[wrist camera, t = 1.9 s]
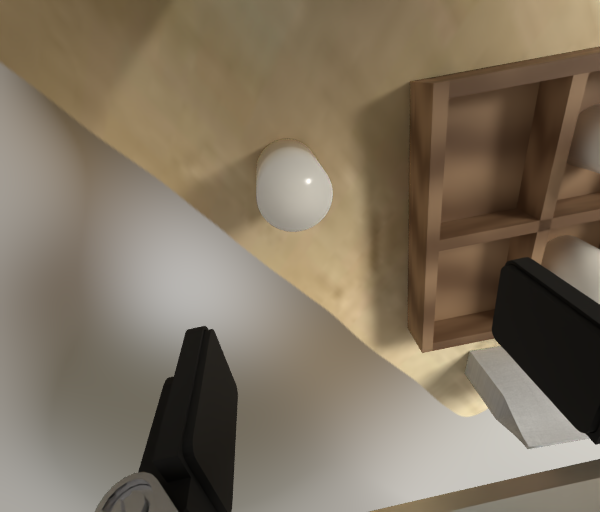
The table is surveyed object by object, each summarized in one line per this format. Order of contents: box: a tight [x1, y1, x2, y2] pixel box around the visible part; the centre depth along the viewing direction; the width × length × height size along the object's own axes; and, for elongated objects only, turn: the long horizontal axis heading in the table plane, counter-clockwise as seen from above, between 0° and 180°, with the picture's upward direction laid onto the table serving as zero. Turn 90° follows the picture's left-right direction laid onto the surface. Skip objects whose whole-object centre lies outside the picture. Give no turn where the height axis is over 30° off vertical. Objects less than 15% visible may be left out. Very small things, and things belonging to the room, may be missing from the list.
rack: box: [408, 47, 600, 353], centre depth 27 cm, size 23×19×4 cm
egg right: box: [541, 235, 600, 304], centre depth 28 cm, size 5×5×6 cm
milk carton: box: [465, 346, 589, 449], centre depth 34 cm, size 4×7×10 cm, turn 95°
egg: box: [256, 139, 333, 232], centre depth 22 cm, size 5×5×6 cm
